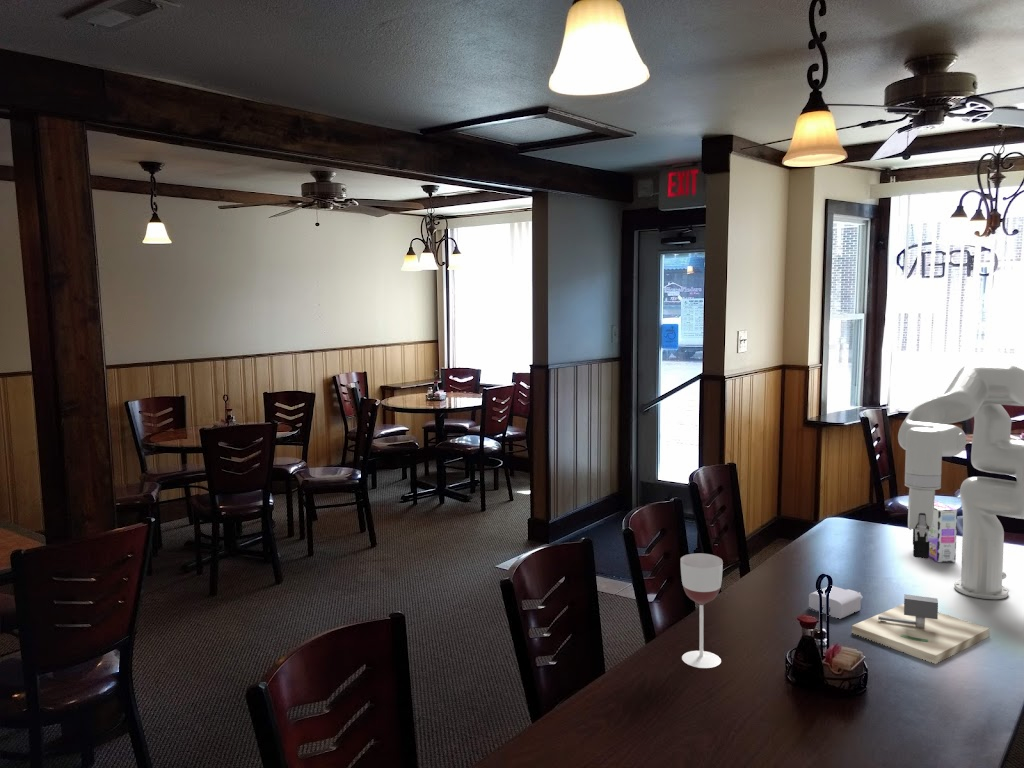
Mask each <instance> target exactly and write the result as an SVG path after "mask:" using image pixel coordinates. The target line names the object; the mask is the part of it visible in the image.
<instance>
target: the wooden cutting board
mask: <svg viewBox="0 0 1024 768" xmlns="http://www.w3.org/2000/svg"><path fill="white" fill-rule="evenodd" d="M878 616H883V617H890V618H897V619H904V620H911V621H915V622H916V616H909V615H904V603H902V604H899V605H898V606H895V607H893V608H891V609H887V610H886V611H885V610H884V612H880V613H879V614H875V615H874V616H872V617H869V618H867V619H864V620H862V621H860V622H857V623H855V624H852V625H851V634H852V633H854V634H853V635H855V634H856V635H855V636H857V635H859V636H858V637H860V636H862V637H861V638H863V637H864V638H863V639H865V638H867V639H866V640H868V639H869V640H868V641H871V640H872V641H871V642H874V641H875V642H874V643H876V642H877V644H879V643H881V644H880V645H882V644H883V645H882V646H884V645H885V647H887V646H888V647H887V648H890V647H891V648H890V649H894V650H896V651H899V652H902V653H903V652H904V654H907V655H909V656H911V657H914V658H917V659H920V660H922V659H923V661H925V660H926V662H928V663H931V662H932V663H931V664H933V663H935V664H934V665H937V664H939V663H941V662H943V661H945V660H947V659H948V657H949V658H951V657H952V655H953V656H954V655H956V654H958V653H960V652H962V651H964V650H966V649H968V648H970V647H972V646H973V645H975V644H977V643H979V642H981V641H983V640H985V639H987V638H989V637H990V627H986V626H984V625H980V624H977V623H974V622H970V621H968V620H965V619H961V618H958V617H954V616H951V615H948V614H945V613H941V612H939V611H938V619H931V618H925V627H924V628H919V627H916V626H915V625H913V624H906V623H899V622H892V621H885V620H878ZM950 656H951V657H950ZM946 658H947V659H946ZM944 659H945V660H944ZM942 660H943V661H942ZM940 661H941V662H940ZM938 662H939V663H938ZM936 663H937V664H936Z"/></svg>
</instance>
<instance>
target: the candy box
mask: <svg viewBox="0 0 1024 768" xmlns="http://www.w3.org/2000/svg"><path fill="white" fill-rule="evenodd" d="M957 525H958V510H957V509H955V508H953V507H950V506H949V505H947V504H944V503H942V502H939V501H938V500H936V499H935V501H934V516H933V524H932V530H931V531H930V532H929V535H928V541H929V558H930V559H931V560H933V561H934V562H937V563H956V559H957V557H956V555H957V553H956V552H957V530H958V529H957V528H958V526H957ZM929 558H928V559H929Z"/></svg>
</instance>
